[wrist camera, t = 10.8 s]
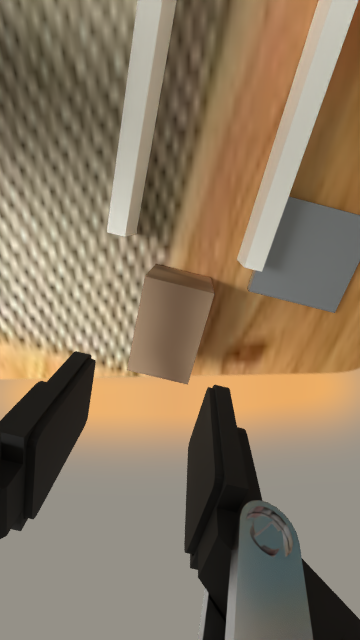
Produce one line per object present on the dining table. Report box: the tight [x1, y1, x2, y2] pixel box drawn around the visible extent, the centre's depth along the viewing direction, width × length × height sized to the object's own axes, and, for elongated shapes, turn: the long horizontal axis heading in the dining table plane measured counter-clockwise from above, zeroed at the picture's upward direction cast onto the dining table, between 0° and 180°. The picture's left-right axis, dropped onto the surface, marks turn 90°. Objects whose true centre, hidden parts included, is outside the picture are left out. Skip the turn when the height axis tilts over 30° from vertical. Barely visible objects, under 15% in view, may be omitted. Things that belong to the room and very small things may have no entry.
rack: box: [107, 0, 358, 272], centre depth 16 cm, size 10×19×4 cm, turn 166°
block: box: [127, 264, 215, 384], centre depth 20 cm, size 4×7×5 cm, turn 167°
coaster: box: [247, 197, 360, 313], centre depth 20 cm, size 7×7×1 cm
